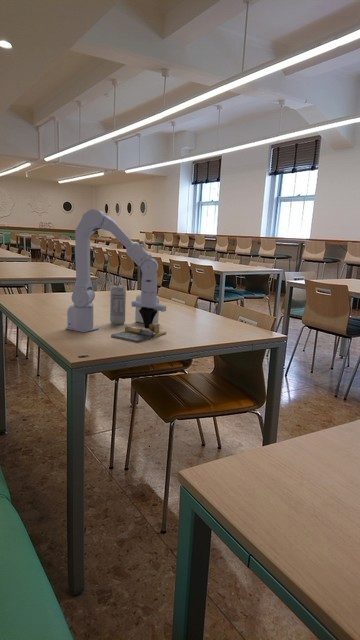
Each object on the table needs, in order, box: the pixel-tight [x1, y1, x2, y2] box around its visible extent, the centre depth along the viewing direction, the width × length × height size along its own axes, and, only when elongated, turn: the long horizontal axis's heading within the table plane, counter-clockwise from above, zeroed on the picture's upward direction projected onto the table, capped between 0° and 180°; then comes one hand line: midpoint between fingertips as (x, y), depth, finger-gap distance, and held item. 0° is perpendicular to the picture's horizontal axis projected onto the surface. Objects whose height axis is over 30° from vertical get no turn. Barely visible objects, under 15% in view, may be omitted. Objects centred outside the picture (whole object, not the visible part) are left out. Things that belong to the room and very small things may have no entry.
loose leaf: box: [124, 323, 167, 338], centre depth 153 cm, size 12×10×4 cm
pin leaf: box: [110, 330, 156, 344], centre depth 146 cm, size 13×10×2 cm
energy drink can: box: [109, 285, 127, 326], centre depth 167 cm, size 6×6×15 cm
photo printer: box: [134, 293, 160, 324], centre depth 170 cm, size 10×4×12 cm, turn 60°
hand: (147, 328), depth 154 cm, fingers closed
